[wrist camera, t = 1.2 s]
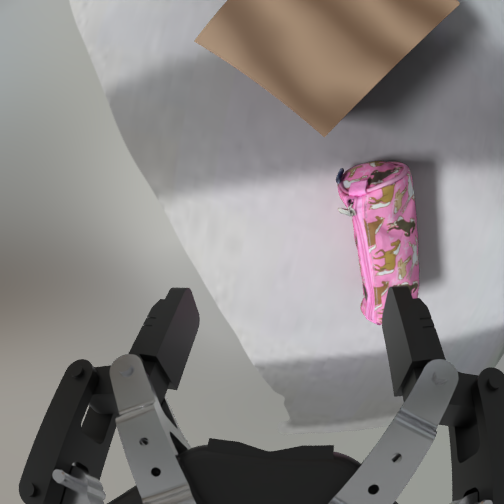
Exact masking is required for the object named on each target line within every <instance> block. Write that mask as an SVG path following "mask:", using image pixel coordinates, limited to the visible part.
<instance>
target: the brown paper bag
mask: <svg viewBox="0 0 504 504" xmlns="http://www.w3.org/2000/svg"><path fill="white" fill-rule="evenodd" d="M458 5H460V3H459V2H458V1H457V0H227V1H226V3H225V4H224V5H223V6H222V7H221V8H220V10H219V11H218V12H217V13H216V14H215V15H214V17H213V18H212V19H211V20H210V22H209V23H208V24H207V25H206V27H205V28H204V29H203V30H202V32H201V33H200V34H199V35H198V37H197V38H196V39H195V41H194V42H196V43H198V44H199V45H201V46H203V47H204V48H206V49H208V50H209V51H211V52H212V53H214V54H215V55H217V56H219V57H220V58H222V59H223V60H225V61H226V62H228V63H229V64H231V65H232V66H234V67H235V68H237V69H238V70H239V71H241V72H242V73H244V74H245V75H247V76H248V77H249V78H251V79H252V80H254V81H255V82H256V83H258V84H259V85H260V86H262V87H263V88H264V89H266V90H267V91H268V92H270V93H271V94H272V95H274V96H275V97H276V98H278V99H279V100H280V101H281V102H283V103H284V104H285V105H286V106H288V107H289V108H290V109H291V110H293V111H294V112H295V113H296V114H298V115H299V116H300V117H301V118H302V119H304V120H305V121H306V122H307V123H308V124H310V125H311V126H312V127H313V128H314V129H315V130H317V131H318V132H319V133H320V134H321V135H322V136H323V137H325V136H326V135H327V134H328V133H329V132H330V131H331V130H332V129H333V128H334V127H335V126H336V125H337V124H338V123H339V122H340V121H341V120H342V119H343V118H344V117H345V115H346V114H347V113H348V112H349V111H350V110H351V109H352V108H353V107H354V106H355V105H356V104H357V103H358V102H359V101H360V100H361V99H362V98H363V97H364V96H365V95H366V94H367V93H368V92H369V91H370V90H371V89H372V88H373V87H374V86H375V85H376V84H377V83H378V82H379V81H380V80H381V79H382V78H383V77H384V76H385V75H386V74H387V73H388V72H389V71H390V70H391V69H392V68H393V67H394V66H395V65H396V64H397V63H398V62H399V61H400V60H401V59H402V58H404V57H405V56H406V55H407V54H408V53H409V52H410V51H411V50H412V49H413V48H414V47H415V46H416V45H417V44H418V43H419V42H420V41H421V40H422V39H423V38H424V37H425V36H426V35H427V34H428V33H429V32H431V31H432V30H433V29H434V28H435V27H436V26H437V25H438V24H439V23H440V22H441V21H442V20H443V19H444V18H445V17H447V16H448V15H449V14H450V13H451V12H452V11H453V10H454V9H455V8H456V7H457V6H458Z"/></svg>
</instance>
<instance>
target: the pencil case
mask: <svg viewBox="0 0 504 504" xmlns="http://www.w3.org/2000/svg"><path fill="white" fill-rule="evenodd" d="M343 172H344V169H343V168H341V169H340V170H339V173H338V175H337V177H336V182H337V183H338V192H339V195H340V198H341V199H342V201H343V202H344V204H345V205H346V207H347V209H343V208H338V211H339V212H340V213H342V214H345V215H348V216H352V221H353V226H354V238H355V242H356V246H357V249H358V256H359V265H360V270H361V276H362V281H363V300H362V303H361V311H362V313H363V314H364V316H366V319H368V320H370V321H371V322H373V323H375V324H377V325H381V324H382V314H383V310H384V306H385V301H386V297H387V293H388V289H389V287H392V286H408V287H409V289H410V292H411V295H412V298H413V299H414V298H418V289H419V262H418V232H417V217H416V207H415V196H414V190H413V183H412V176H411V172H410V169H409V167H408V166H407V165H405V164H403V163H400V162H385V161H374V162H369V163H364V164H360V165H357V166H354V167H352V168H350V169H348V170H347V171H346V172H345V173H344V174H343Z"/></svg>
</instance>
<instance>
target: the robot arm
mask: <svg viewBox="0 0 504 504" xmlns="http://www.w3.org/2000/svg"><path fill="white" fill-rule="evenodd" d="M198 327H199V313H198V310H197V307H196V304H195V301H194V298H193V295H192V292H191V290H190V289H189V288H171V289H170V291H169V293H168V295H167V296H166V298H165V299H160V300H159V301H158V302H157V303H156V304H155V305H154V306H153V307H152V309H151V311H150V312H149V315H148V316H147V318H146V320H145V322H144V326H142V328H141V330H140V332H139V334H138V336H137V338H136V340H135V342H134V344H133V346H132V348H131V350H130V352H129V354H125V355H122V356H120V357H118V358H117V359H116V360H115V361H114V362H113V363H112V365H111V366H103V367H93V366H92V364H91V363H90V362H89V361H87V360H84V359H81V360H77V361H75V362H73V363H72V364H71V365H70V366H69V367H68V368H67V370H66V372H65V374H64V376H63V378H62V380H61V382H60V384H59V386H58V389H57V390H56V393H55V395H54V397H53V399H52V401H51V404H50V406H49V408H48V410H47V412H46V415H45V417H44V419H43V422H42V424H41V426H40V429H39V431H38V434H37V436H36V439H35V441H34V444H33V446H32V449H31V452H30V454H29V457H28V460H27V463H26V465H25V468H24V471H23V474H22V477H21V480H20V483H19V493H20V496H21V499H22V500H23V501H24V503H26V504H104V502H103V500H104V499H105V496H106V495H105V492H104V491H103V487H102V484H101V482H100V481H99V480H100V477H101V473H102V470H103V467H104V463H105V460H106V457H107V453H108V450H109V447H110V444H111V441H112V438H113V434H114V432H115V429H116V426H117V428H118V432H119V435H120V439H121V442H122V445H123V449H124V451H125V455H126V458H127V460H128V464H129V466H130V469H131V472H132V475H133V477H134V480H135V483H136V486H134V487H133V488H131V489H130V490H128V491H127V492H125V493H124V494H122V495H120V496H119V497H117V498H116V499H114V500H112V501H111V502H109V503H107V504H398V503H397V502H396V501H395V500H396V499H397V498H398V496H399V495H400V493H401V492H402V491H403V489H404V488H405V486H406V485H407V483H408V482H409V480H410V479H411V477H412V476H413V474H414V473H415V471H416V470H417V468H418V466H419V465H420V463H421V462H422V460H423V458H424V456H425V455H426V453H427V451H428V450H429V448H430V446H431V444H432V443H433V440H434V439H435V437H436V434H437V432H436V429H437V426H438V424H439V425H446V426H448V427H449V435H450V446H451V461H452V485H453V486H452V491H453V495H452V496H453V498H452V502H451V503H450V504H504V374H503V373H502V372H501V371H500V370H498V369H496V368H486V369H484V370H483V371H482V372H481V373H480V375H479V376H478V375H471V374H464V373H460V372H458V371H457V370H456V368H455V367H454V365H453V364H451V363H450V362H448V361H446V359H445V357H444V354H443V350H442V347H441V344H440V341H439V338H438V335H437V332H436V329H435V328H434V323H433V321H432V319H431V315H430V312H429V310H428V307H427V306H426V305H425V304H424V303H423V302H422V300H421V299H420V298H414V299H413V298H412V295H411V292H410V289H409V287H408V286H392V287H389V289H388V293H387V297H386V301H385V306H384V310H383V314H382V329H383V334H384V339H385V344H386V349H387V354H388V360H389V366H390V372H391V378H392V384H393V391H394V397H395V396H403V400H404V403H403V405H402V407H401V408H400V410H399V411H398V413H397V415H396V416H395V418H394V419H393V421H392V422H391V424H390V425H389V427H388V428H387V430H386V431H385V433H384V434H383V436H382V437H381V438H380V440H379V441H378V443H377V444H376V445H375V447H374V448H373V449H372V451H371V452H370V453H369V455H368V456H367V457H366V458H365V460H364V461H363V462H362V464H360V463H359V462H358V461H356V460H355V459H353V458H351V457H349V456H347V455H344V454H341V453H338V452H333V450H334V446H333V445H327V446H299V447H294V448H289V449H284V450H278V451H271V452H268V451H264V450H261V449H258V448H255V447H252V446H249V445H246V444H243V443H240V442H235V441H226V440H218V439H212V438H210V439H209V442H208V445H202V446H198V447H194V448H191V446H190V445H189V443H188V441H187V440H186V438H185V437H184V435H183V433H182V432H181V430H180V428H179V425H178V423H177V421H176V419H175V416H174V414H173V412H172V409H171V407H170V405H169V403H168V400H167V398H166V396H165V394H166V391H167V389H173V390H177V388H178V385H179V383H180V380H181V376H182V374H183V371H184V368H185V365H186V362H187V359H188V356H189V353H190V351H191V348H192V345H193V342H194V339H195V336H196V334H197V331H198ZM88 405H89V409H88V411H87V414H86V417H85V419H84V422H83V425H82V427H81V422H82V419H83V417H84V414H85V412H86V409H87V407H88Z"/></svg>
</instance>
